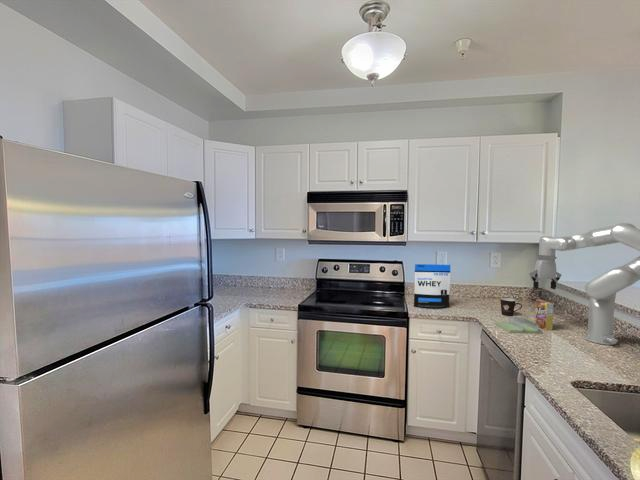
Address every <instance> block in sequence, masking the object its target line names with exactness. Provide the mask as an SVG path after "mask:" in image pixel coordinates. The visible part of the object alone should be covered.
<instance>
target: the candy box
mask: <svg viewBox="0 0 640 480" xmlns="http://www.w3.org/2000/svg"><path fill="white" fill-rule="evenodd" d="M534 312H535V315H534V317H535V318H534V319H535V321H534V323H536V324H538V328H540V329H543V330H544V331H553V326H554V325H553V324H554V320H553V318H554V302H551V301H546V300H544V299H535V311H534Z"/></svg>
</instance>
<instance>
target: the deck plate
mask: <svg viewBox="0 0 640 480" xmlns="http://www.w3.org/2000/svg"><path fill="white" fill-rule="evenodd" d="M493 324H494V326H497V327H499V328H500V329H502V330H504V331H506V332H507V333H509V334H540V333H542V332H543V331H542V330H541V329H539V328H538V331H536V330H534V329H532V328H530V327H528V326H526V325H524V331H522V330H520V329H518V328H516V327H515V326H513V325H511V324H509V321H497V320H496V321H494V323H493ZM542 334H543V333H542Z"/></svg>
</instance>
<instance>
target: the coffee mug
mask: <svg viewBox="0 0 640 480" xmlns="http://www.w3.org/2000/svg"><path fill="white" fill-rule="evenodd" d="M499 300H500V301H499V302H500V309H501V310H500V312H501V315H502V316H506V317H513V316H514V313H515V312H517V311H520V310H521V309H522V308H523V305H522V303H520V302H516V299H515V298H509V297H501V298H500V299H499ZM516 305H520V307H519V308H518V309H515V307H516Z"/></svg>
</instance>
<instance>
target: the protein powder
mask: <svg viewBox="0 0 640 480" xmlns="http://www.w3.org/2000/svg"><path fill="white" fill-rule="evenodd" d="M451 267H452V265H451V264H433V263H432V264H431V263H429V264H428V263H427V264H419V263H418V264H417V263H415V264H414V290H413V292H414V294H413V297H414V298H413V308H419V309H427V310H443V309H449V308H450V290H451V289H450V288H451V287H450V285H451Z"/></svg>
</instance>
